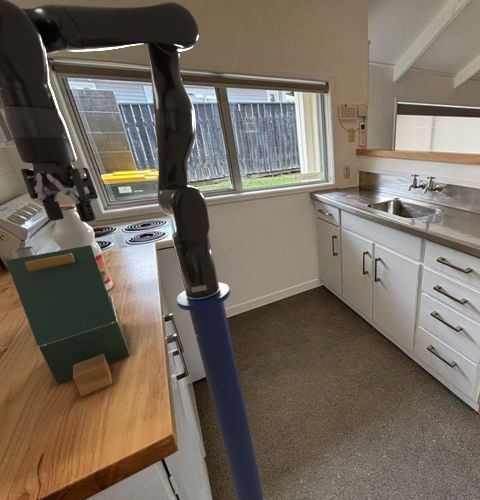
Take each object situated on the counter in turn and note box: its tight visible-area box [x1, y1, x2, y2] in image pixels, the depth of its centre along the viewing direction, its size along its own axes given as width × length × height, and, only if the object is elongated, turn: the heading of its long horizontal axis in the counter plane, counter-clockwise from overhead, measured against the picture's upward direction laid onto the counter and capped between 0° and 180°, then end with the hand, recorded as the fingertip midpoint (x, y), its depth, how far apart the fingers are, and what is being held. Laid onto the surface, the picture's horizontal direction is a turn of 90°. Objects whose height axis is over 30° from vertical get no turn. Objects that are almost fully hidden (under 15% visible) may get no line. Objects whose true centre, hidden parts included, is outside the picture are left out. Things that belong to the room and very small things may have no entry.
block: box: [72, 354, 113, 397], centre depth 55 cm, size 4×4×4 cm
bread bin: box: [38, 295, 130, 385], centre depth 63 cm, size 16×12×9 cm
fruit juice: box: [52, 203, 114, 291], centre depth 87 cm, size 9×9×28 cm
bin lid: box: [5, 245, 117, 347], centre depth 53 cm, size 16×12×5 cm
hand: (72, 220), depth 58 cm, fingers open, 8 cm apart
